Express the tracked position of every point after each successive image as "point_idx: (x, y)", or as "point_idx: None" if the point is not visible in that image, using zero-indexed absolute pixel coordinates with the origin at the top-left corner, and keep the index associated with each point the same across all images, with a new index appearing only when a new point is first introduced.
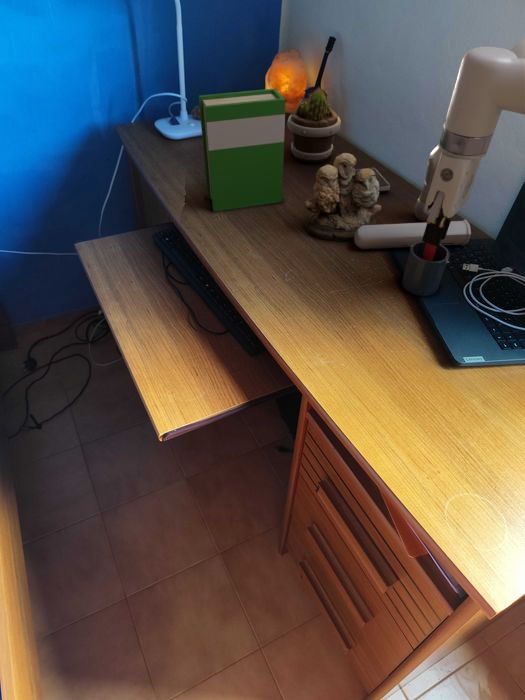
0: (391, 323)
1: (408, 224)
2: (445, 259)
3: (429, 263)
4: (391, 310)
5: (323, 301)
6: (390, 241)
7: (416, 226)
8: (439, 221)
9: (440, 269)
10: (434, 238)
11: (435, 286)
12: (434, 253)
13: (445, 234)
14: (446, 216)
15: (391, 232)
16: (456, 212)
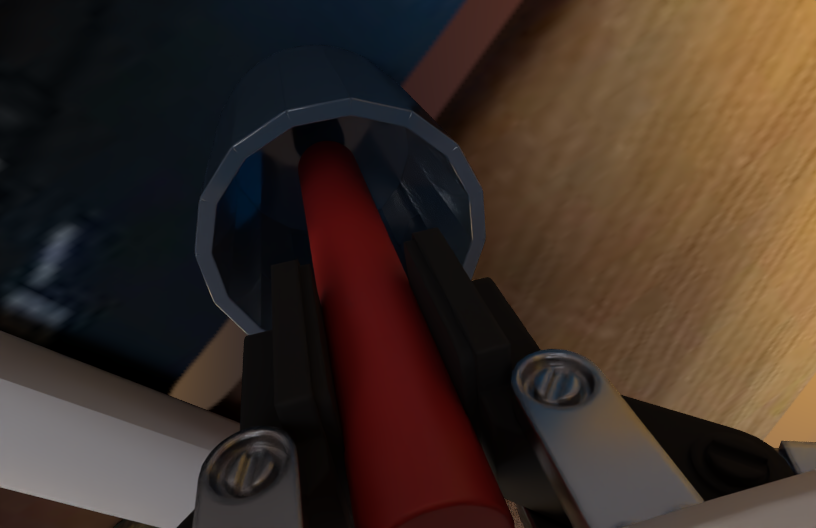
0: (660, 66)
1: (55, 492)
2: (354, 107)
3: (467, 165)
4: (581, 120)
5: (666, 315)
6: (214, 433)
7: (23, 463)
8: (752, 451)
9: (373, 87)
10: (501, 299)
11: (343, 56)
12: (340, 212)
13: (299, 286)
14: (607, 489)
15: (196, 478)
16: (755, 518)
